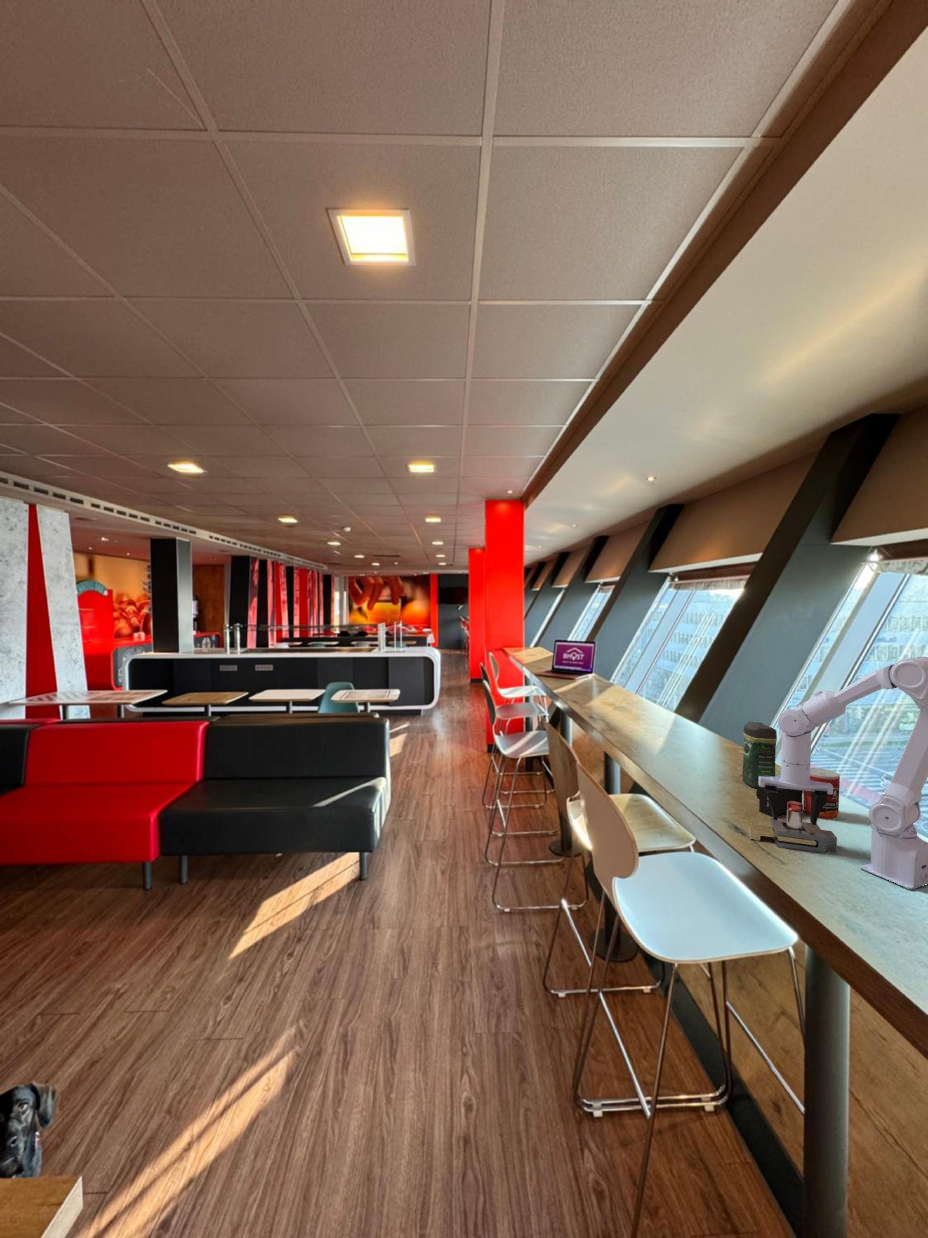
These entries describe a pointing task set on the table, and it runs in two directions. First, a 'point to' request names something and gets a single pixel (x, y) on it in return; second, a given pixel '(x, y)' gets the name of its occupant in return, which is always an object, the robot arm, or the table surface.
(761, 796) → the digital camera
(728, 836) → the table surface
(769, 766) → the coffee jar
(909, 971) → the table surface
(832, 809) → the canned food
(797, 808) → the clear red-capped cylinder
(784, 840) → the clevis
